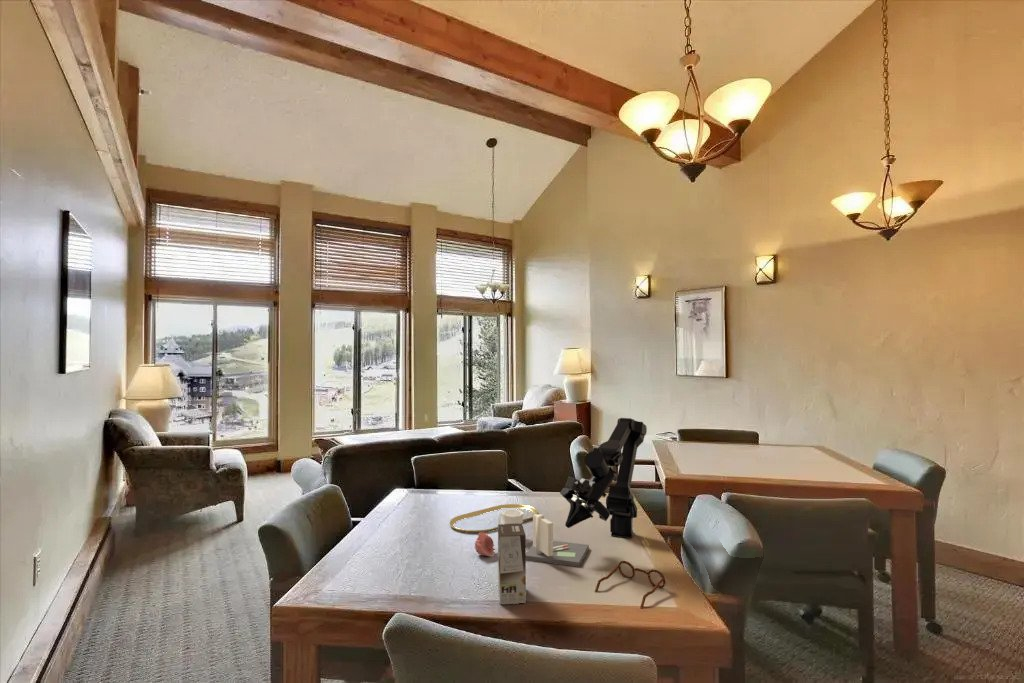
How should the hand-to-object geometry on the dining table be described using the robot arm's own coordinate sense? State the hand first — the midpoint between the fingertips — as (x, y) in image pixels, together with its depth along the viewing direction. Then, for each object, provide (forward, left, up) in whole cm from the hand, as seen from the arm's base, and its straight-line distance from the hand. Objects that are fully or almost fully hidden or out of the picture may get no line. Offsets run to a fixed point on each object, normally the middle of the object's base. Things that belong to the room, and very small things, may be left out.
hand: (566, 526), depth 149 cm
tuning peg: (+4, 0, -7) cm, 8 cm away
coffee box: (+8, +27, -9) cm, 29 cm away
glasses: (-19, +15, -10) cm, 26 cm away
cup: (+22, -11, -9) cm, 26 cm away
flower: (+24, +5, -9) cm, 26 cm away
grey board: (+4, -2, -9) cm, 10 cm away
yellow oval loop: (+33, -26, -10) cm, 43 cm away
